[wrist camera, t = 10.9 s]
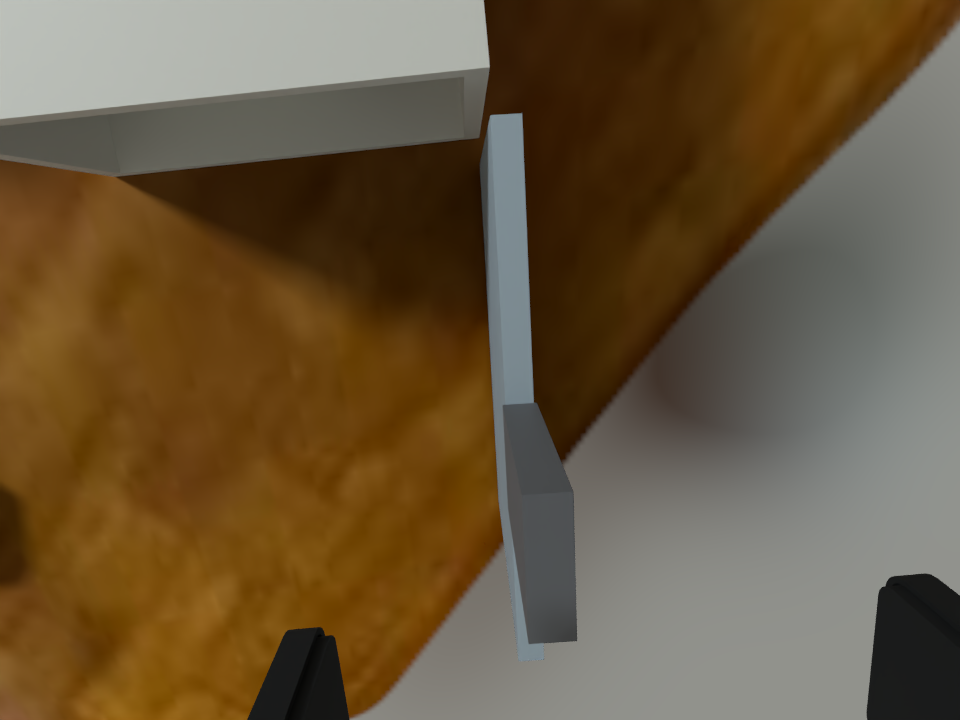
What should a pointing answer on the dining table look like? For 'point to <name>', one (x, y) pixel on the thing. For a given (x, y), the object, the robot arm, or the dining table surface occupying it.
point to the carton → (234, 80)
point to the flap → (523, 413)
